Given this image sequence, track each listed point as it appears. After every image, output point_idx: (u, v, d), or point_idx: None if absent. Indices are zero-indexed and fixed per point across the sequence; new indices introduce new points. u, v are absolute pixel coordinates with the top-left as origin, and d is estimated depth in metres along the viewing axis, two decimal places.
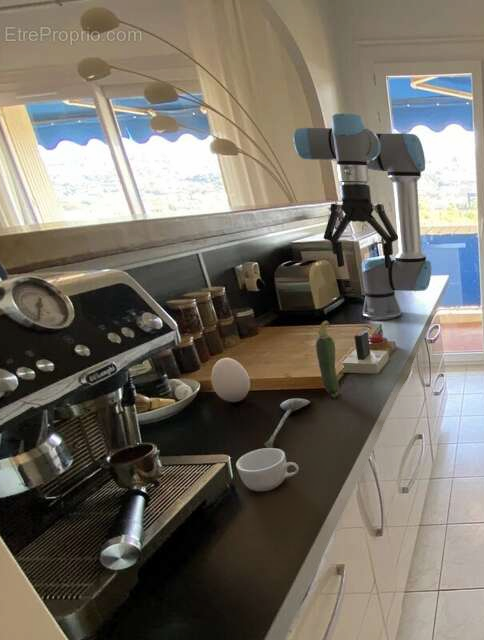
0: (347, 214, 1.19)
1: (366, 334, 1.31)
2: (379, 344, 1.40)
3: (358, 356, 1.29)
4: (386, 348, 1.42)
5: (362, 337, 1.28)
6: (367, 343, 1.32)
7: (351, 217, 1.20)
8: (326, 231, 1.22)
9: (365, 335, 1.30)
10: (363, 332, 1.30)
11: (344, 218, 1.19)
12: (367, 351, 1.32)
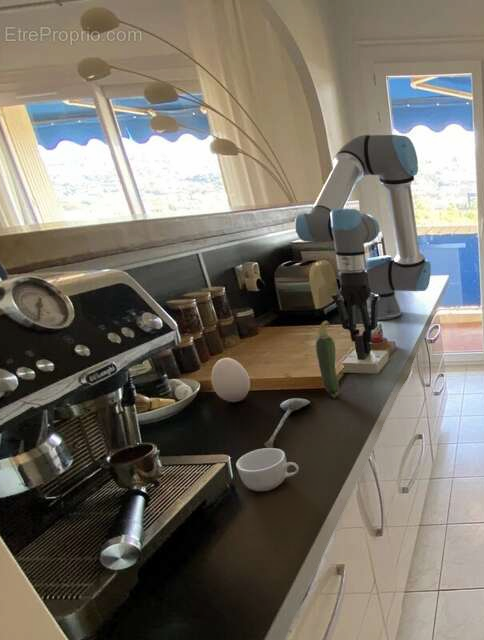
0: (348, 300, 1.23)
1: None
2: (379, 344, 1.40)
3: (358, 356, 1.29)
4: (386, 348, 1.42)
5: (362, 337, 1.28)
6: None
7: (353, 300, 1.24)
8: (342, 321, 1.27)
9: None
10: None
11: (348, 305, 1.24)
12: None
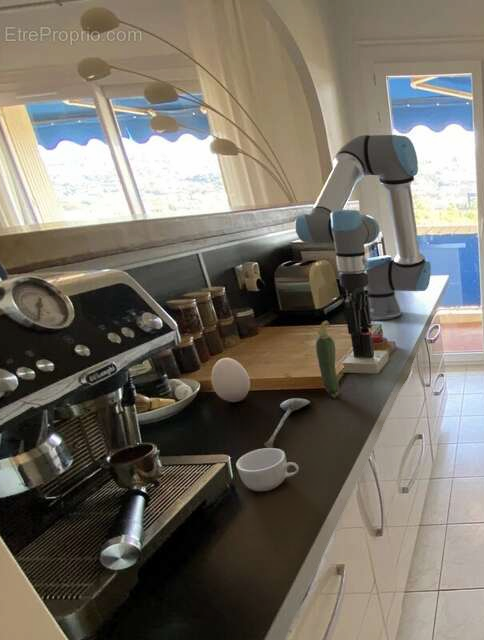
0: (360, 302, 1.23)
1: None
2: (379, 344, 1.40)
3: (372, 354, 1.31)
4: (386, 348, 1.42)
5: None
6: None
7: None
8: (356, 327, 1.23)
9: None
10: None
11: (360, 306, 1.23)
12: None
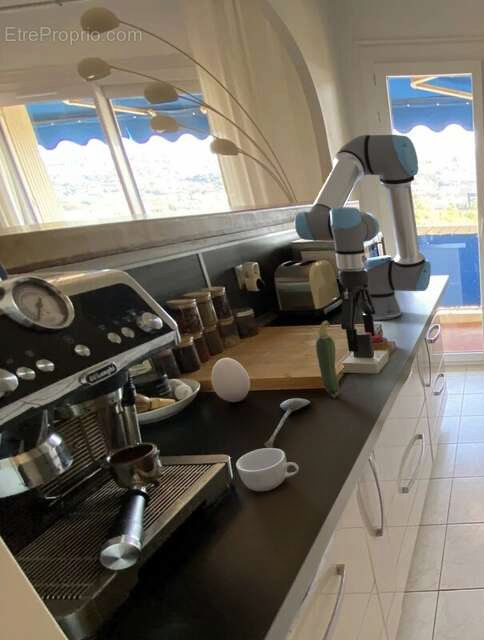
0: (359, 298, 1.22)
1: None
2: (379, 344, 1.40)
3: (372, 354, 1.31)
4: (386, 348, 1.42)
5: None
6: None
7: None
8: (350, 321, 1.18)
9: None
10: (357, 333, 1.30)
11: (358, 303, 1.22)
12: None
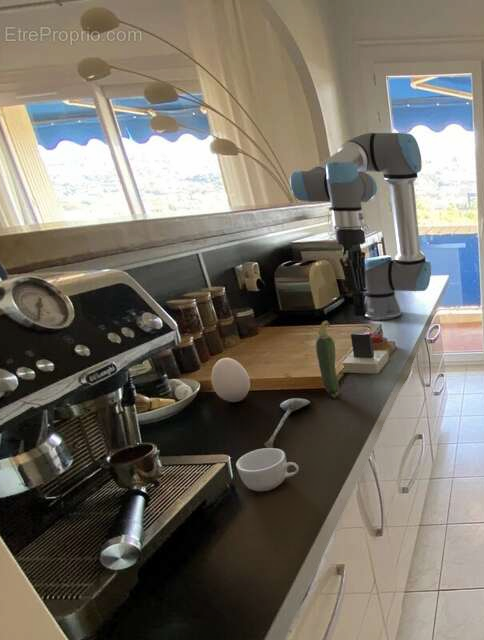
0: (357, 260, 1.20)
1: None
2: (379, 344, 1.40)
3: (372, 354, 1.31)
4: (386, 348, 1.42)
5: None
6: None
7: None
8: (356, 285, 1.21)
9: None
10: (357, 333, 1.30)
11: (358, 265, 1.21)
12: None
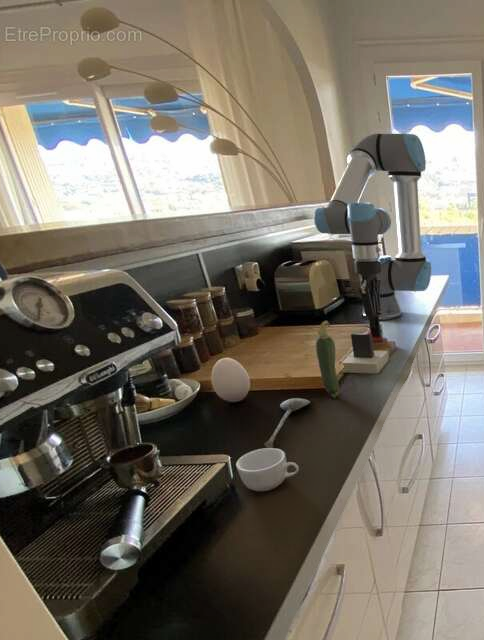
0: (374, 288, 1.34)
1: None
2: (379, 344, 1.40)
3: (372, 354, 1.31)
4: (386, 348, 1.42)
5: None
6: None
7: None
8: (372, 310, 1.34)
9: None
10: (357, 333, 1.30)
11: (374, 292, 1.34)
12: None
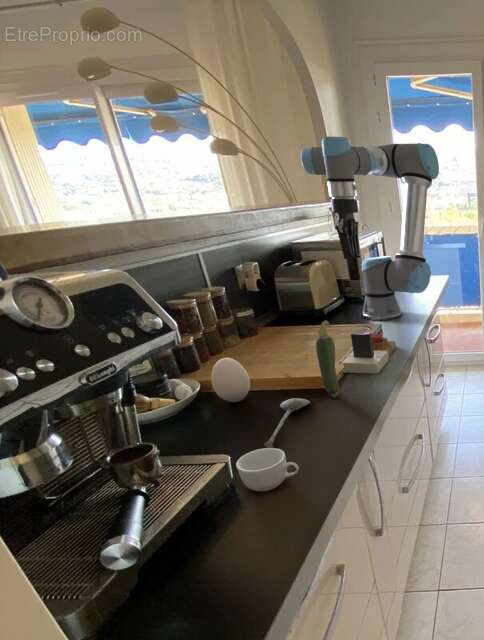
0: (351, 228, 1.32)
1: None
2: (379, 344, 1.40)
3: (372, 354, 1.31)
4: (386, 348, 1.42)
5: None
6: None
7: None
8: (350, 251, 1.33)
9: None
10: (357, 333, 1.30)
11: (352, 232, 1.33)
12: None
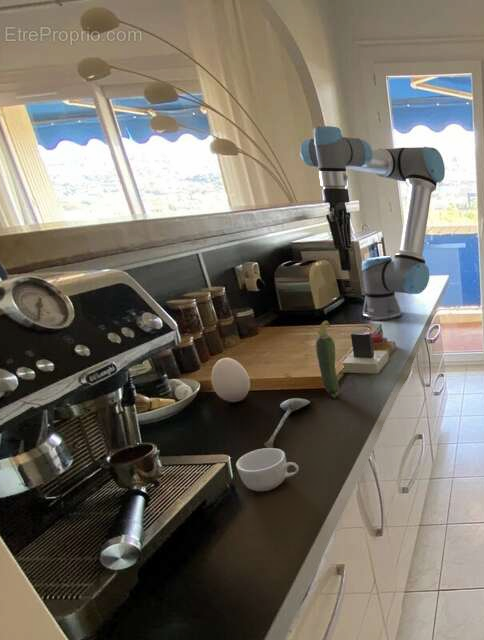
0: (342, 217, 1.33)
1: None
2: (379, 344, 1.40)
3: (372, 354, 1.31)
4: (386, 348, 1.42)
5: None
6: None
7: None
8: (341, 240, 1.34)
9: None
10: (357, 333, 1.30)
11: (343, 222, 1.34)
12: None
